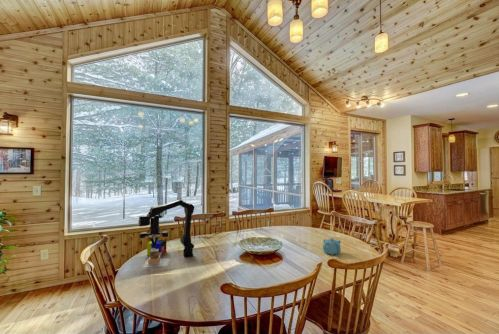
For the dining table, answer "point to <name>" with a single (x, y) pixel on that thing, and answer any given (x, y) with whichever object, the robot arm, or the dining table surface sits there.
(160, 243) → the puzzle toy
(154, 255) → the walnut cube
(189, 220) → the robot arm
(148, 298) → the dining table surface
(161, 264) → the grey flat slab
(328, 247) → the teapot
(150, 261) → the terracotta base
